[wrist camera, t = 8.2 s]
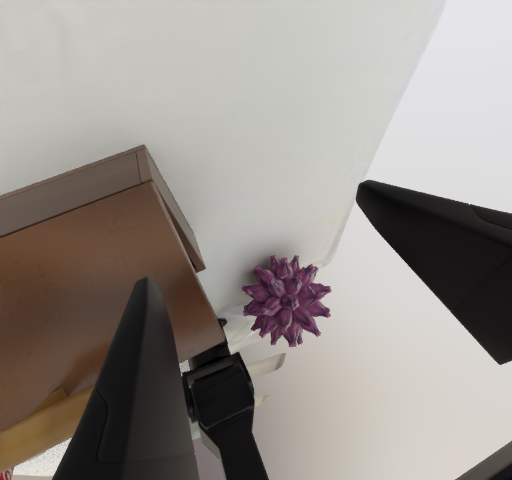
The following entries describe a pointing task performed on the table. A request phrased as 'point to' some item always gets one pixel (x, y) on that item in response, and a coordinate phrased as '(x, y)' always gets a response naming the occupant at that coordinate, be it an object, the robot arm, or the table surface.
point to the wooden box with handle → (84, 310)
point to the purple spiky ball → (286, 300)
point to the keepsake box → (93, 195)
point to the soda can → (6, 474)
